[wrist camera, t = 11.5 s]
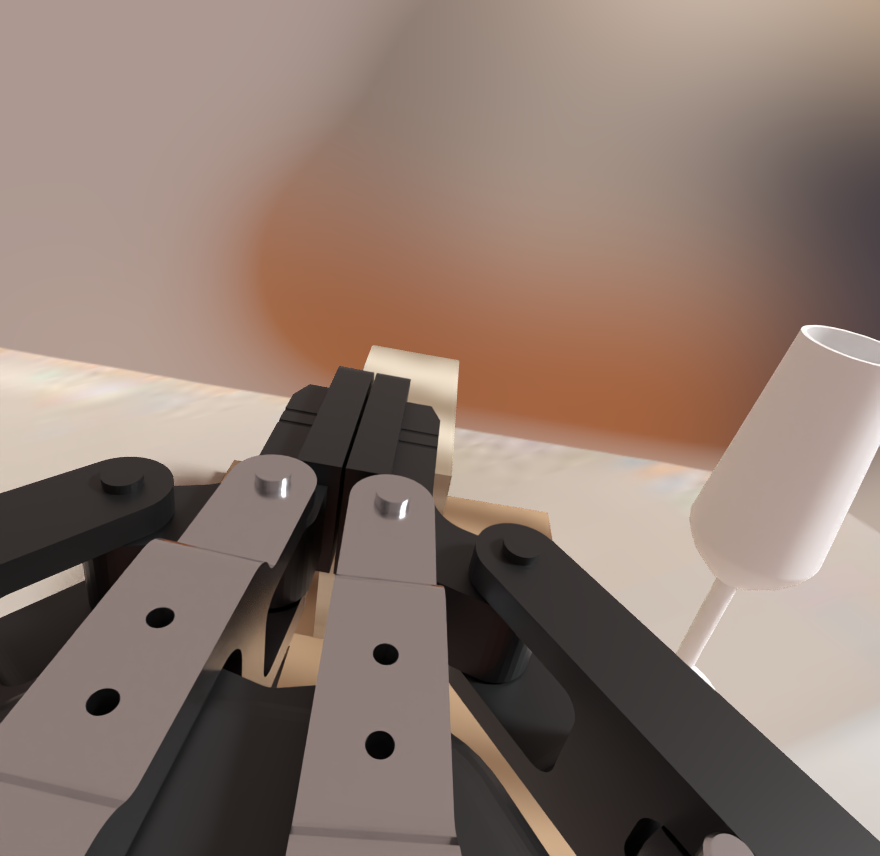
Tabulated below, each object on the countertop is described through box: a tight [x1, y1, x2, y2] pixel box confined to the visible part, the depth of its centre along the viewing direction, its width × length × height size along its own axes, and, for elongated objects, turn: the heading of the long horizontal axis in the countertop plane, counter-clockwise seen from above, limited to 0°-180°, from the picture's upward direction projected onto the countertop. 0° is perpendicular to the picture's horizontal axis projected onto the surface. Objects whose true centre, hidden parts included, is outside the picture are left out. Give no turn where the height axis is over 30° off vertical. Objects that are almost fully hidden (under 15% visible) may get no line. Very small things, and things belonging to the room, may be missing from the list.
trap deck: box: [220, 460, 576, 856], centre depth 37 cm, size 32×26×2 cm
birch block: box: [313, 345, 459, 639], centre depth 40 cm, size 14×6×13 cm, turn 177°
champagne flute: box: [676, 325, 880, 691], centre depth 34 cm, size 7×7×24 cm
